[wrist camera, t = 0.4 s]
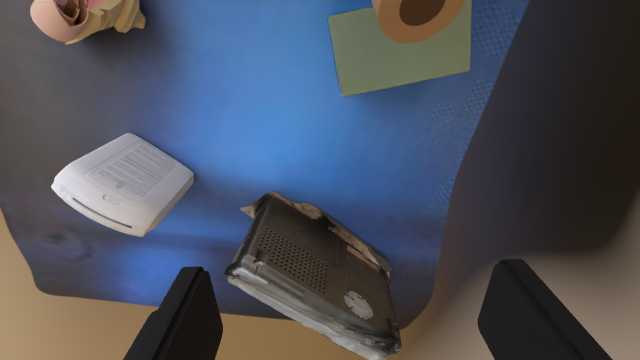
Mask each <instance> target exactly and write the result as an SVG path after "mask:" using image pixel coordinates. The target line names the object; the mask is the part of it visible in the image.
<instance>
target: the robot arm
mask: <svg viewBox="0 0 640 360" xmlns="http://www.w3.org/2000/svg"><path fill="white" fill-rule="evenodd" d="M478 328H479V331H480V333H481V335H482V337H483V338H484V340H485V342H486V344H487V346H488V348H489V350H490V352H491V353H492V355H493V357H494V359H495V360H612V359H611V358H610V356H609V355H608V354H607V353H606V352H605V351H604V350H603V348H602V347H601V346H600V345H599V344H598V343H597V342H596V341H595V340H594V338H593V337H592V336H591V335H590V334H589V333H588V332H587V331H586V329H585V328H584V327H583V326H582V325H581V324H580V323H579V322H578V321H577V319H576V318H575V317H574V316H573V315H572V314H571V313H570V311H569V310H568V309H567V308H566V307H565V306H564V305H563V304H562V302H561V301H560V300H559V299H558V298H557V297H556V296H555V295H554V294H553V292H552V291H551V290H550V289H549V288H548V287H547V286H546V284H545V283H544V282H543V281H542V280H541V279H540V278H539V277H538V276H537V275H536V273H535V272H534V271H533V270H532V269H531V268H530V267H529V265H528V264H527V263H526V262H525V261H523V260H521V259H503V260H500V261H499V263H498V264H496V265H495V266H494V269H493V272H492V275H491V278H490V281H489V285H488V288H487V291H486V294H485V298H484V301H483V304H482V307H481V311H480V314H479V317H478ZM222 333H223V325H222V321H221V317H220V313H219V309H218V306H217V302H216V298H215V294H214V290H213V286H212V283H211V279H210V275H209V272H208V271H204V269H203V268H202V267H183V268H182V269H181V270H180V272H179V274H178V275H177V277H176V279H175V281H174V282H173V284H172V286H171V288H170V289H169V291H168V293H167V295H166V296H165V298H164V300H163V302H162V303H161V305H160V307H159V308H158V310H156V311H154V312H152V313H151V314H150V316H149V317H148V318H147V320H146V322H145V324H144V325H143V327H142V329H141V330H140V332H139V334H138V335H137V337H136V339H135V340H134V342H133V344H132V345H131V347H130V349H129V350H128V352H127V354H126V356H125V357H124V359H123V360H215V357H216V354H217V351H218V347H219V344H220V341H221V338H222Z"/></svg>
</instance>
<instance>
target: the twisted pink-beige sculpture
mask: <svg viewBox="0 0 640 360" xmlns="http://www.w3.org/2000/svg"><path fill="white" fill-rule="evenodd" d="M30 14H31V17H32V20H33V21H34V23H35V24H36V25H37V26H38V27H39V28H40V29H41V30H42V31H43V32H44V33H45V34H47V35H48V36H50V37H51V38H53V39H55V40H58V41H64V43H65V45H67V44H71V43H74V42H77V41H80V40H82V39H84V38H86V37H87V36H89V35H90V34H92V33H95V32H97V31H100V30H104V29H107V28H110V27H112V26H114V27H115V29H116V30H117V31H118V32H124V33H126V32H127V31H128V30H129V29H131V28H134V27H136V28H140V29H143V28H144V25H145V16H144V15H143V14H142V13H141V11H140V7H139V0H34V2H33V3H32V6H31V9H30Z"/></svg>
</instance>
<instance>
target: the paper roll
mask: <svg viewBox="0 0 640 360" xmlns="http://www.w3.org/2000/svg"><path fill="white" fill-rule="evenodd" d="M371 2H372V5H373V8H374V11H375V14H376V17H377V20H378V23H379V26H380V29H381V30H382V32H383V33H384V34H385V35H386V36H387V37H388V38H389V39H391V40H393V41H396V42H399V43H415V42H419V41H423V40H425V39H428V38H430V37H432V36H434V35H435V34H437V33H439V32H440V31H441V30H443V29H444V28H445V27H446V26H447V25H449V24H450V23H451V22H452V20H453V19H454V18H455V17H456V16H457V14H458V13H459V12H460V10H461V8H462V7H463V5H464V3H465V0H371Z"/></svg>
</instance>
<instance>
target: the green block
mask: <svg viewBox="0 0 640 360" xmlns="http://www.w3.org/2000/svg"><path fill="white" fill-rule="evenodd" d="M471 11H472V0H465V3H464V5H463V7H462V8H461V10H460V12H459V13H458V14H457V16H456V17H455V18H454V19H453V20H452V22H451V23H450V24H449V25H447V26H446V27H445V28H444V29H443V30H441V31H440V32H439V33H437V34H435V35H434V36H432V37H430V38H428V39H425V40H423V41H419V42H415V43H399V42H396V41H393V40H391V39H389V38H388V37H387V36H386V35H385V34H384V33H383V32H382V30H381V29H380V26H379V23H378V20H377V17H376V14H375V11H374V8H373V6H372V7H368V8H363V9H359V10H355V11H350V12H346V13H342V14H337V15H333V16H330V17H329V18H328V19H327V20H328V26H329V32H330V38H331V44H332V50H333V56H334V62H335V68H336V74H337V80H338V85H339V88H340V91H341V94H342V96H343V97H347V96H352V95H357V94H362V93H366V92H371V91H376V90H381V89H386V88H391V87H396V86H400V85H405V84H410V83H415V82H420V81H425V80H430V79H434V78H439V77H444V76H449V75H454V74H459V73H464V72H468V71H470V49H471Z"/></svg>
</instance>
